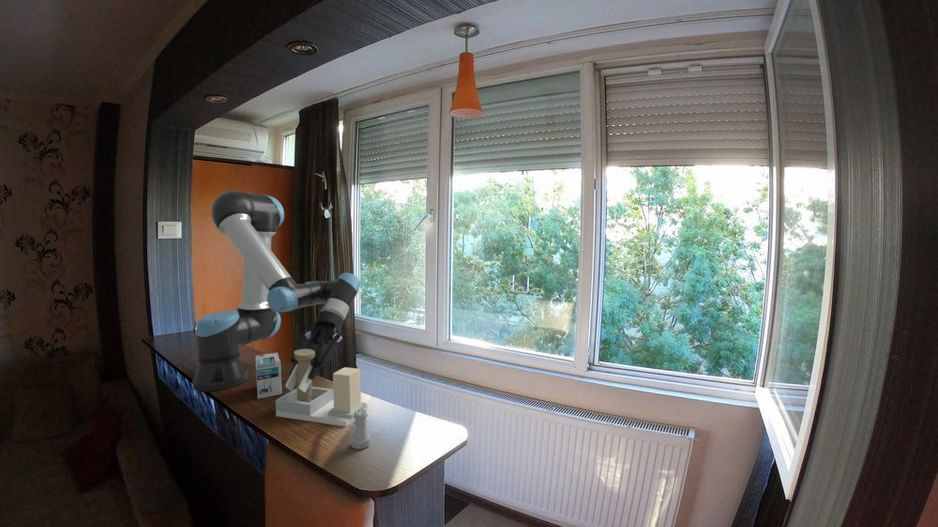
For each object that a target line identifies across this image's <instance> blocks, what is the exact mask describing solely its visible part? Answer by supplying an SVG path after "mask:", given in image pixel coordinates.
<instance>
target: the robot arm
mask: <svg viewBox="0 0 938 527" xmlns="http://www.w3.org/2000/svg"><path fill="white" fill-rule="evenodd" d="M210 212H211V218H212V222H213V223H214V226H215V227H216V228H217V229H218V231H219V233H221V234H222V235H225V236H227V237H228V238H229V240H230V241H231V243H233V245H234V246H235V248H236V249H237V250H238V252H239V253H240V255H241V256H242V257H243V260H242V268H243V269H242V301H241V302H239V304H238V305H237V309H236V310H222V311H218V312H217V311H216V312H213V313H208V314H207V315H204V316H201V317H200V318H199V320H197V322H196V330H195V335H196V343H197V345H196V346H197V366H196V370H195V373H194V376H193V379H192V390H194V391H196V392H203V393H204V392H206V393H207V392H214V391H215V392H216V391H222V390H226V389H229V388H234V387H236V386H239V385H241V384H242V383H244V382H245V381H247V379H248V370H247V368H246V366H245V363H244V361H243V359H242V356H241V347H242V346H246V345H249V344H253V343H255V342H259V341H264V340H266V339H268V338H272V337H273V336H274V335H275V334H277V332H278V331H279V329H280V327H281V323H282V318H281V315H280V314H279V313H285V312H292V311H293V310H297V309H298V310H299V309H301V308H307V307H312V306H316V305H319V304H324V305H323V306H322V308H321V311H320V312H319V314H318V316H317V318H316V320H315V323H314V326H313V328H312V329H311V330H310V331H309V330H308V331H306V330H303V331H301V334H300V339H299V340H298V342H297V344H296V347H295V349H294V351H296V350H300V349H311V350H313V351H315V349H316V348H317V350H316V352H315V357H314V358H313V362H311V366H309V367H308V369H307V371H306V373H305V375H304V377H303V379H302V381H301V383H300V385H299V387H298V389H300V390H301V391H302V392H305V393H306V391H307V388H308V386H309V384H310V382H311V380H312V381H314V380H315V378H316V376H317V374H318V372H319V370H321V369H322V368H323V369H326V368H327V367H328V366H329V364H330V363H331V360H332V358H333V356H334V354H335V353H336V350H337V349H338V347H339V345H340V344H341V343H342V342H343V341H344V338H343V337H342V335H341V334H340V333H339V331H340V330H341V327H342V325H343V323H344V321H345V319H346V317H347V314H348V313H349V311H350V308H351V306H352V305H353V302H354V300H355V298H356V297H357V294H359V293H358V292H359V290H360V287H361V280H360V279H359V278H358V276H356V275H354V274H353V273H351V272H350V273H349V272H342V273H340V275H339V276H338V277H337V280H323V281H321V280H320V281H319V280H313V281H312V280H311V281H307V282H304V283H300V284H299V283H298V284H297V282H296V281H295V279H293V277H292V276H291V275H290V274H289V272H288V271H287V269H286V268H285V267H284V266H283V264H282V263H281V262H280V260H279V259H278V258H277V256H276V255H275V254H274V252H273V250H272V238H273V236H274V235H276V233H277V228H278V227H280V226H281V225H282V223H283V222H284V220H285V210H284V207H283V206H282V203H281V202H279V200H278V199H277V198H275V197H273V196H270V195H266V194H262V193H261V194H260V193H254V192H253V193H251V192H246V191H245V192H244V191H239V190H230V191H225V192H223V193H221V194H219V195H218V196H217V197H216V198H215V199H214V201H213V203H212V204H211V211H210ZM289 361H290V362H291V363H292V364H293V366H292V368H291V370H290V372H289V378H288V379H287V381H286V382H285V385H284V387H285V388H286V389H287V390H289V392H291V391H293V390H295V386H297V374H298V360H296V359H295V358H294V352H293V353H292V355H291V357H290V360H289Z"/></svg>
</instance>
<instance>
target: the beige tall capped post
mask: <svg viewBox="0 0 938 527" xmlns="http://www.w3.org/2000/svg"><path fill="white" fill-rule="evenodd" d="M293 353H294V358H295V359H296V360H298V374H297V383H296V388H297V397H298V400H299V401H300V402H308V403H310V401H311V394H312V387H313V380H311V382H310V384H309V386H308V388H307V391H306V393H305V392H302V391H301V390H300V389H298V387H299V385H300V383H301V381H302V379H303V377H304V375H305V373H306V371H307V369H308V367H309V366H312V364H311V363H312V360H314V359H315V356H316V351H315V350H311V349H300V350H296V351H295V350H294V351H293Z"/></svg>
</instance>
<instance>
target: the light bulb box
mask: <svg viewBox="0 0 938 527" xmlns="http://www.w3.org/2000/svg"><path fill="white" fill-rule="evenodd" d="M254 357H255V377H256V378H255V379H256V380H255V381H256V392H257V399H258V400H260V399H264V398H270V397H274V396H279V395H282V394H283V392H282V391H283V388H282V385H283V384H282V366H281V359H280V357H279V352H273V353H266V354H265V353H264V354H258V355H255V356H254Z"/></svg>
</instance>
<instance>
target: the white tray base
mask: <svg viewBox="0 0 938 527" xmlns="http://www.w3.org/2000/svg"><path fill="white" fill-rule="evenodd" d="M332 383H333V384H332V386H333V387H332V388H325V387H316V386H312V394H311V401H310V403H308V402H300V401H299V400H298V397H297V387H296V388H294V389H293V391H289V392H287V393H286V394H284V395H282V396H280V397H279V398H277V399H275V416H276V417H280V418H286V419H292V420H301V421H307V422H311V423H312V422H313V423H317V424H318V423H320V424H324V425H325V424H326V425H333V426H338V427H344V428H345V427H348V426H349V425H351V424H352V423H353V422H355V419H354V418H353V416H354V414H355V411H357V412H358V410H359V409H360V411H362V409H364V410H366V411H367V410H368V403H366V402H362V399H361V398H362V397H361V396H362V395H361V394H362V391H361V388H362V387H361V369H360V368H354V367H346V366H345V367H343V368H340V369H338V370H337V371H335V372H333V374H332Z"/></svg>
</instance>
